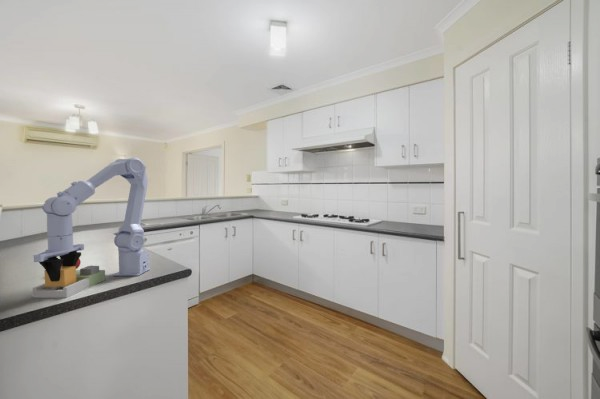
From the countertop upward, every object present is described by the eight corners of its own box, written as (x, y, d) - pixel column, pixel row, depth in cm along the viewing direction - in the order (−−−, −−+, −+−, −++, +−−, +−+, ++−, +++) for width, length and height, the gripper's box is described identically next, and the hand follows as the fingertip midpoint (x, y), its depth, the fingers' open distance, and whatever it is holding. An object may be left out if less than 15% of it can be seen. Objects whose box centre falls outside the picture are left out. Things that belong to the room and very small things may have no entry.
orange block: (76, 281, 81) (75, 266, 81) (64, 286, 77) (64, 270, 77) (57, 281, 81) (57, 266, 81) (45, 286, 77) (44, 270, 77)
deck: (105, 279, 90) (104, 264, 90) (67, 297, 75) (66, 279, 75) (77, 279, 90) (76, 264, 90) (33, 297, 75) (32, 279, 75)
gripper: (68, 231, 86) (70, 270, 86) (21, 239, 71) (24, 287, 72) (89, 231, 86) (90, 270, 86) (47, 239, 71) (49, 287, 72)
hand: (62, 278), depth 79 cm, fingers closed on orange block, 4 cm apart
